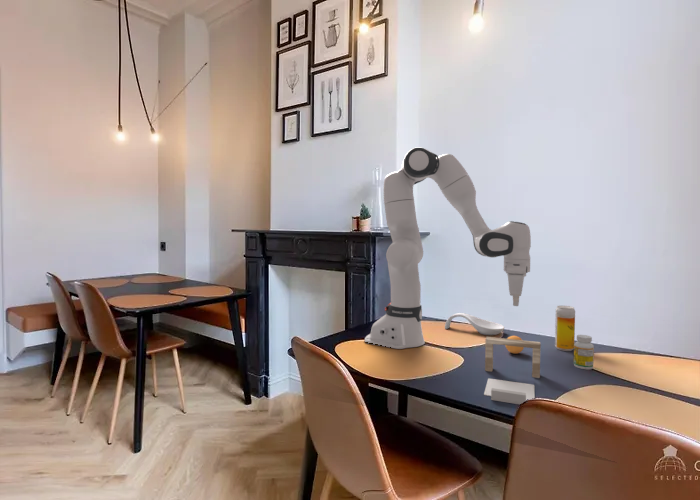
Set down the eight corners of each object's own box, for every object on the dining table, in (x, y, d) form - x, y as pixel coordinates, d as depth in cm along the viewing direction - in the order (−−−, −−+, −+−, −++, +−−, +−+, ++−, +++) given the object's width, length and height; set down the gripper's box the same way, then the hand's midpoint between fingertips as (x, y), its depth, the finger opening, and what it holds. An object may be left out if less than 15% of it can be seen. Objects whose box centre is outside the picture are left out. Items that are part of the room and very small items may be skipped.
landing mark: (483, 395, 105) (483, 394, 105) (488, 379, 116) (488, 378, 116) (534, 403, 100) (534, 402, 100) (534, 385, 111) (534, 384, 111)
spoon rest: (506, 332, 167) (506, 315, 167) (501, 339, 157) (501, 321, 156) (449, 325, 179) (450, 309, 178) (441, 331, 169) (441, 314, 168)
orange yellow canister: (576, 352, 140) (577, 309, 139) (557, 351, 141) (558, 308, 140) (570, 346, 146) (572, 305, 145) (552, 345, 147) (553, 305, 146)
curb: (491, 399, 102) (491, 390, 102) (491, 397, 104) (491, 388, 103) (525, 405, 99) (525, 395, 99) (525, 402, 100) (526, 393, 100)
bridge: (539, 378, 117) (540, 344, 116) (485, 370, 123) (485, 339, 122) (539, 374, 119) (540, 342, 119) (486, 367, 125) (486, 336, 125)
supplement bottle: (591, 371, 122) (592, 339, 121) (571, 367, 125) (572, 336, 125) (594, 366, 126) (595, 335, 125) (575, 362, 129) (576, 333, 129)
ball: (504, 354, 138) (504, 337, 137) (505, 349, 143) (505, 332, 143) (523, 356, 135) (524, 339, 135) (524, 351, 141) (524, 334, 140)
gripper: (508, 263, 157) (508, 299, 158) (505, 269, 138) (505, 309, 139) (526, 264, 154) (525, 300, 155) (526, 269, 136) (525, 310, 136)
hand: (516, 304), depth 147 cm, fingers open, 3 cm apart
